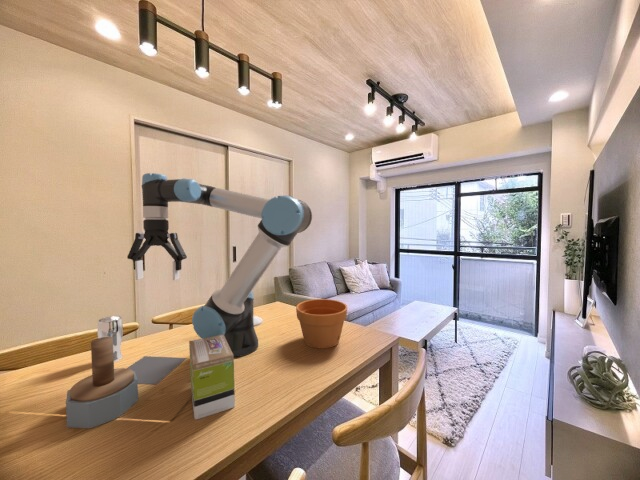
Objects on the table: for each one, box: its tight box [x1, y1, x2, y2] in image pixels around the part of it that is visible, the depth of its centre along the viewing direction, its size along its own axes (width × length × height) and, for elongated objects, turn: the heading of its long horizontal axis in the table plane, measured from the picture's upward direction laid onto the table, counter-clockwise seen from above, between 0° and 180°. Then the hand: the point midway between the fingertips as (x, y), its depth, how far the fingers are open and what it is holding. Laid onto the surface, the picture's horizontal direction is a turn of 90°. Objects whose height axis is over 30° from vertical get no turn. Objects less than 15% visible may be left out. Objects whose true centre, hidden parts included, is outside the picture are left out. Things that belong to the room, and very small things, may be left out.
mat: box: [126, 355, 188, 386], centre depth 88 cm, size 16×16×1 cm
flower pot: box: [295, 298, 348, 349], centre depth 110 cm, size 21×21×15 cm
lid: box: [69, 337, 134, 402], centre depth 69 cm, size 13×13×12 cm
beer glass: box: [97, 315, 124, 363], centre depth 93 cm, size 7×7×15 cm
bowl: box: [65, 371, 139, 429], centre depth 69 cm, size 14×14×6 cm
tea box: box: [188, 334, 236, 421], centre depth 73 cm, size 15×10×15 cm
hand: (157, 279), depth 94 cm, fingers open, 13 cm apart
